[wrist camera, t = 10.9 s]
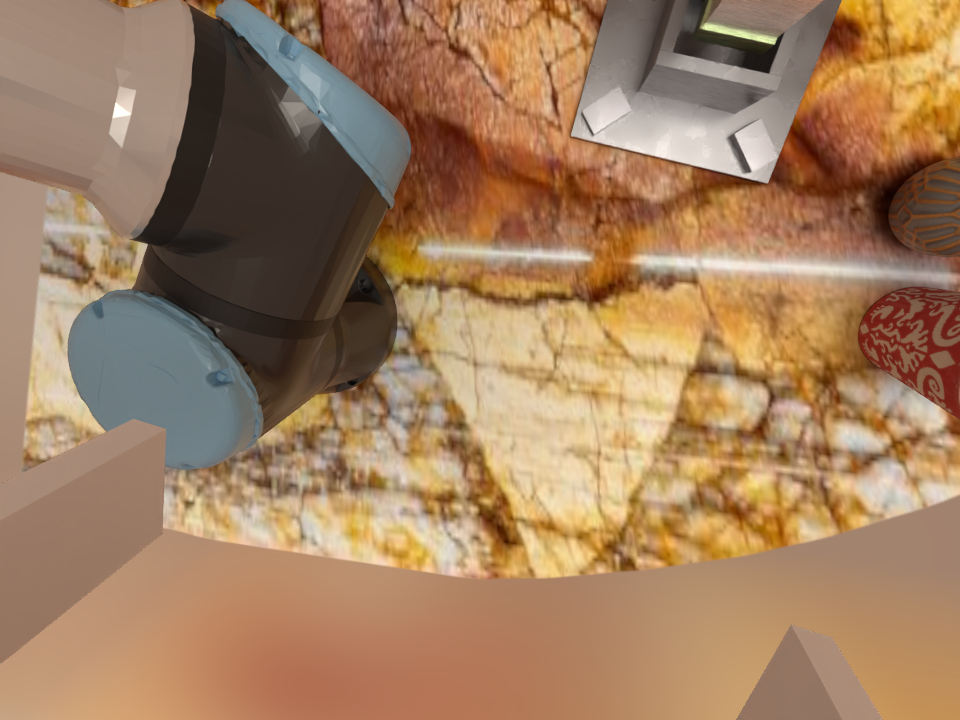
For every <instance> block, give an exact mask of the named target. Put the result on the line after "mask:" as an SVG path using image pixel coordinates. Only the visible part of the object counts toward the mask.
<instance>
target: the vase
mask: <svg viewBox="0 0 960 720" xmlns="http://www.w3.org/2000/svg"><path fill="white" fill-rule="evenodd" d="M888 219H889V225H890V228H891V230H892V232H893V233H894V235H895V236H896V238H897V239H898V240H899V241H900V242H901V243H903V244H904V245H905V246H907V247H908V248H910V249H912V250H914V251H916V252H919V253H923V254H926V255H931V256H938V257H959V256H960V157H956V158H951V159H947V160H943V161H940V162H937V163H934V164H932V165H930V166H928V167H926V168H924V169H922V170H920V171H919V172H917V173H916V174H914V175H913V176H911V177H910V178H909V179H908V180H907V181H906V182H905V183H904V184H903V185H902V186H901V187H900V188H899V189H898V190H897V192H896V193H895V195H894V197H893V199H892V201H891V204H890V207H889V213H888Z"/></svg>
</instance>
